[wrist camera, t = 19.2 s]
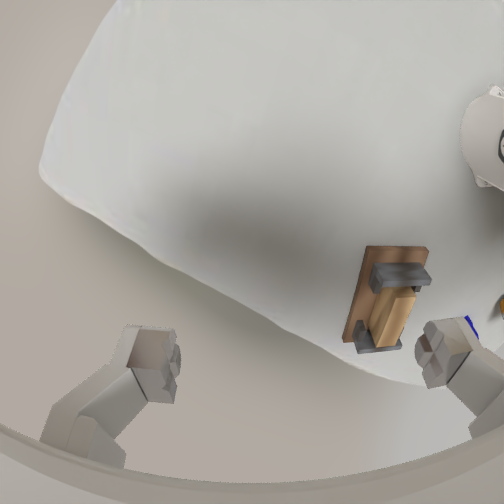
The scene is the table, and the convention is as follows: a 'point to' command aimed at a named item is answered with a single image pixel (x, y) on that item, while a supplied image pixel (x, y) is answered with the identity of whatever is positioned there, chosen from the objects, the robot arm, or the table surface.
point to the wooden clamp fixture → (373, 279)
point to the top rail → (390, 314)
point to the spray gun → (502, 307)
